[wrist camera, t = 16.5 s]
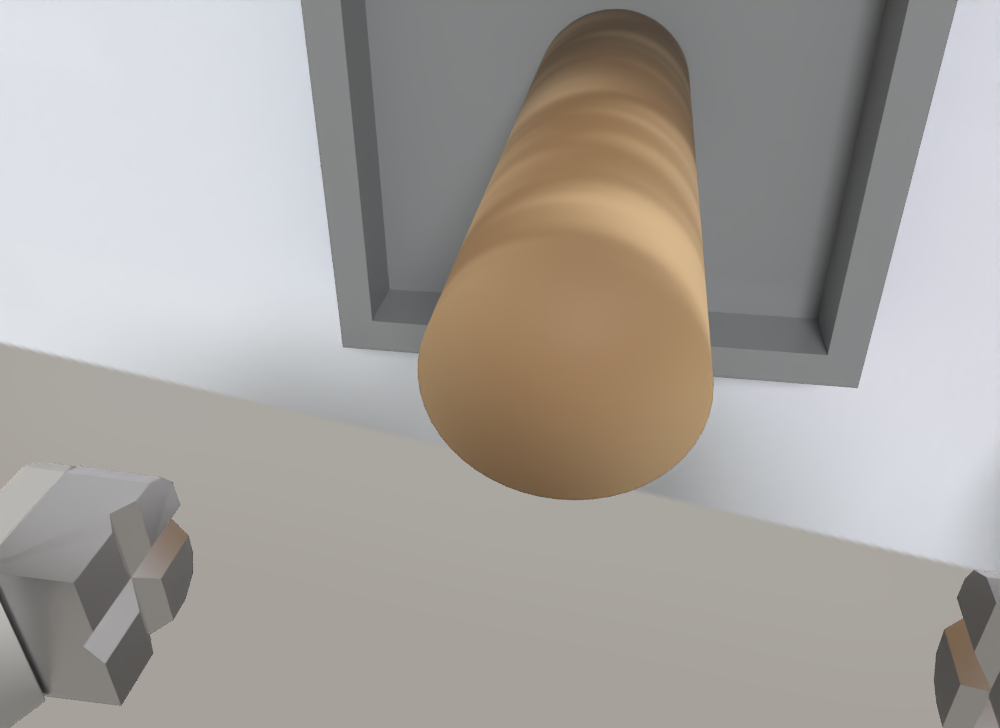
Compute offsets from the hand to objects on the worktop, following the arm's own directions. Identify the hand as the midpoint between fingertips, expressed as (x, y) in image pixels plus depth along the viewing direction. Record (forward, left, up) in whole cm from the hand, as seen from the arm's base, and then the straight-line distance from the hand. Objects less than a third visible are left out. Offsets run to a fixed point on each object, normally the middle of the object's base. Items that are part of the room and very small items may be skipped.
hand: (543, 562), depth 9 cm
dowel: (0, 0, -17) cm, 17 cm away
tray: (0, 0, -18) cm, 18 cm away
